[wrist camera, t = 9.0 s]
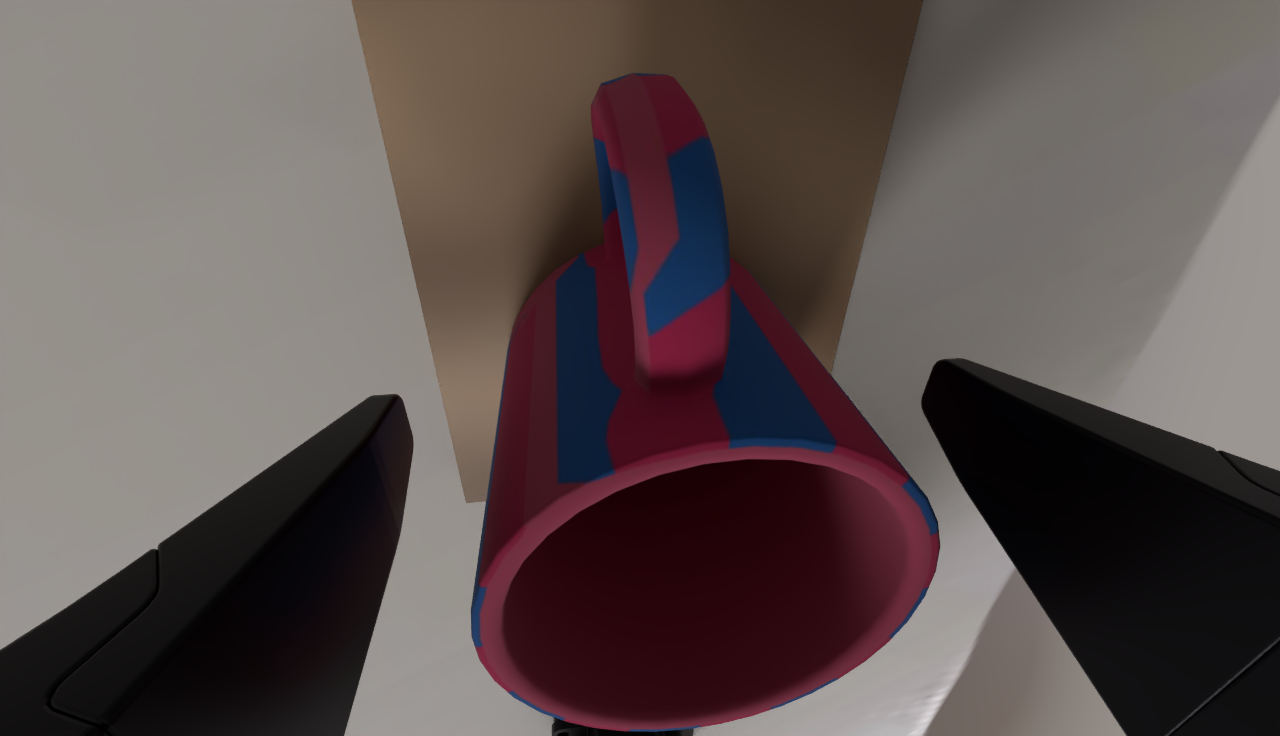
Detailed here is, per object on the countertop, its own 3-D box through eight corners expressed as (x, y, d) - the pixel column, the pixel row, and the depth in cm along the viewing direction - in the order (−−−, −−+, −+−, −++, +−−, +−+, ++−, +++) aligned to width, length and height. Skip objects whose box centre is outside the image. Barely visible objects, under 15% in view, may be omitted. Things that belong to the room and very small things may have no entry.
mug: (524, 476, 15) (505, 759, 9) (460, 56, 9) (315, 107, 4) (758, 454, 16) (876, 703, 10) (824, 55, 10) (1169, 97, 4)
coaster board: (793, 450, 17) (806, 472, 16) (470, 477, 16) (466, 502, 15) (897, -11, 11) (926, -13, 10) (363, -25, 9) (344, -30, 9)
